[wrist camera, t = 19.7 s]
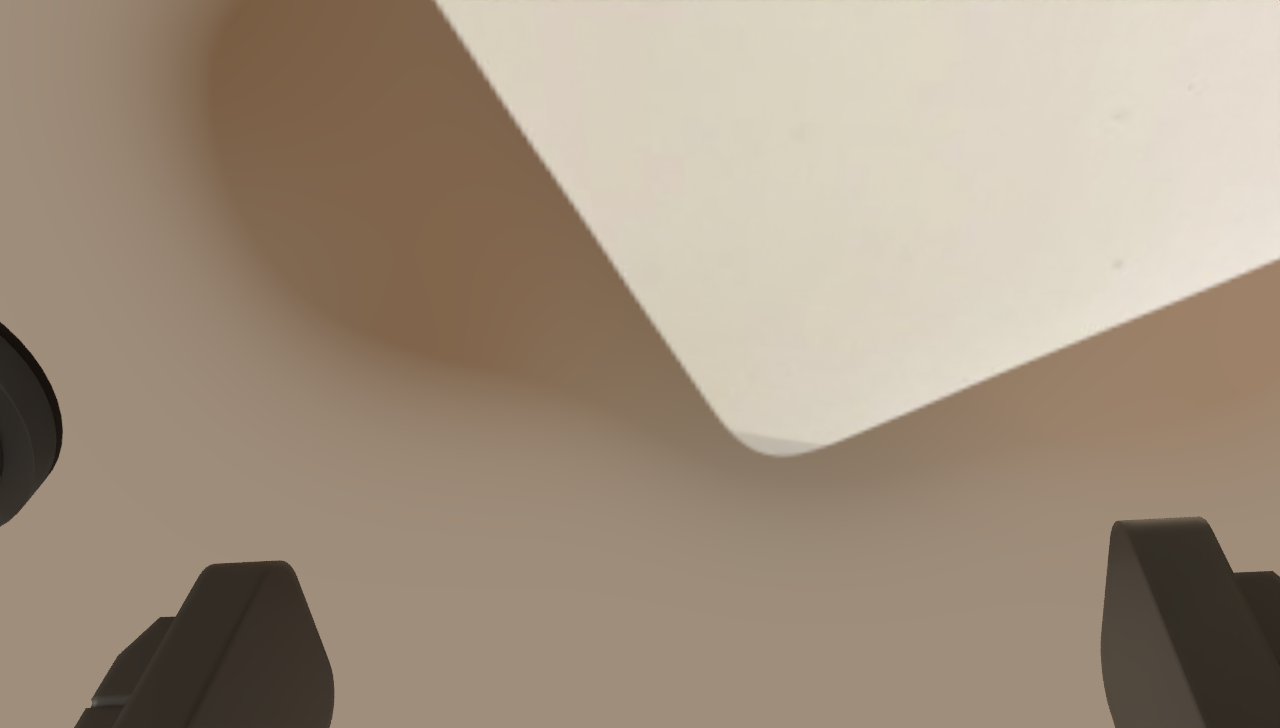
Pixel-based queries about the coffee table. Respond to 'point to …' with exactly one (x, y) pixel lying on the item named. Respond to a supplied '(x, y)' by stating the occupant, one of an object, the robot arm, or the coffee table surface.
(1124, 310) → the coffee table surface
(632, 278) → the coffee table surface
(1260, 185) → the coffee table surface
